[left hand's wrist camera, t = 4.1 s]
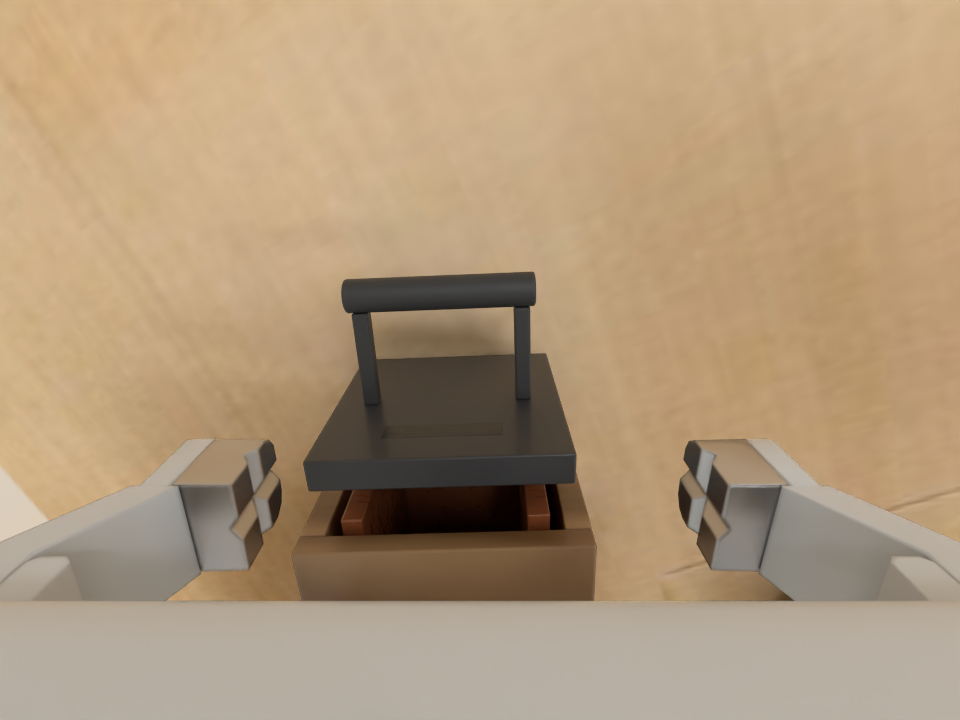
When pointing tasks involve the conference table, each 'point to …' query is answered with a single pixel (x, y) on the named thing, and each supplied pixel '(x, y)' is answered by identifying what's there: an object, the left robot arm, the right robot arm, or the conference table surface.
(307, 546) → the wooden drawer cabinet
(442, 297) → the drawer
